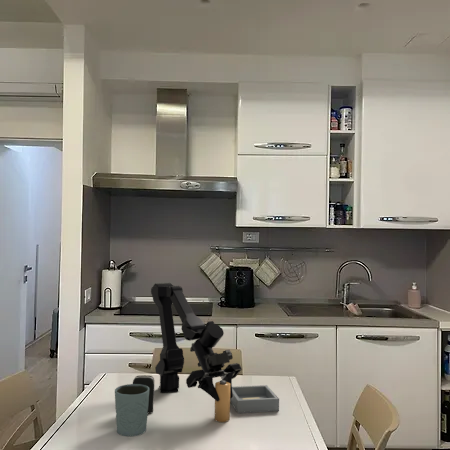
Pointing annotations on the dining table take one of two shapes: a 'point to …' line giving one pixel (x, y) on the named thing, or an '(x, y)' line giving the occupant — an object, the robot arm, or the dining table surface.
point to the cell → (222, 401)
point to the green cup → (131, 409)
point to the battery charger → (150, 383)
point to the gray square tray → (254, 399)
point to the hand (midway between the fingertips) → (225, 399)
